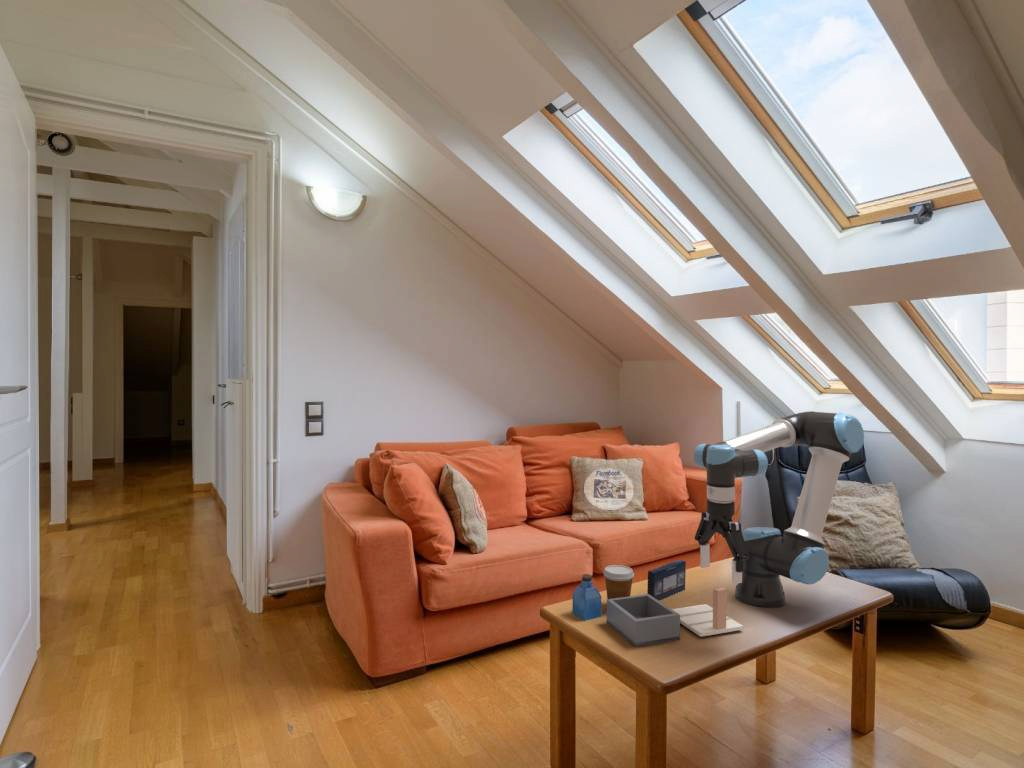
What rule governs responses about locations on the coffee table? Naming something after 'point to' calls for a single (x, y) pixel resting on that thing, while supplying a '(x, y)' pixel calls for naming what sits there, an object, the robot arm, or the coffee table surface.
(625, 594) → the disposable coffee cup
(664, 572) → the vhs cassette tape
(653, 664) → the coffee table surface
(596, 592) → the perfume bottle
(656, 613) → the tub
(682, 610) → the lid
